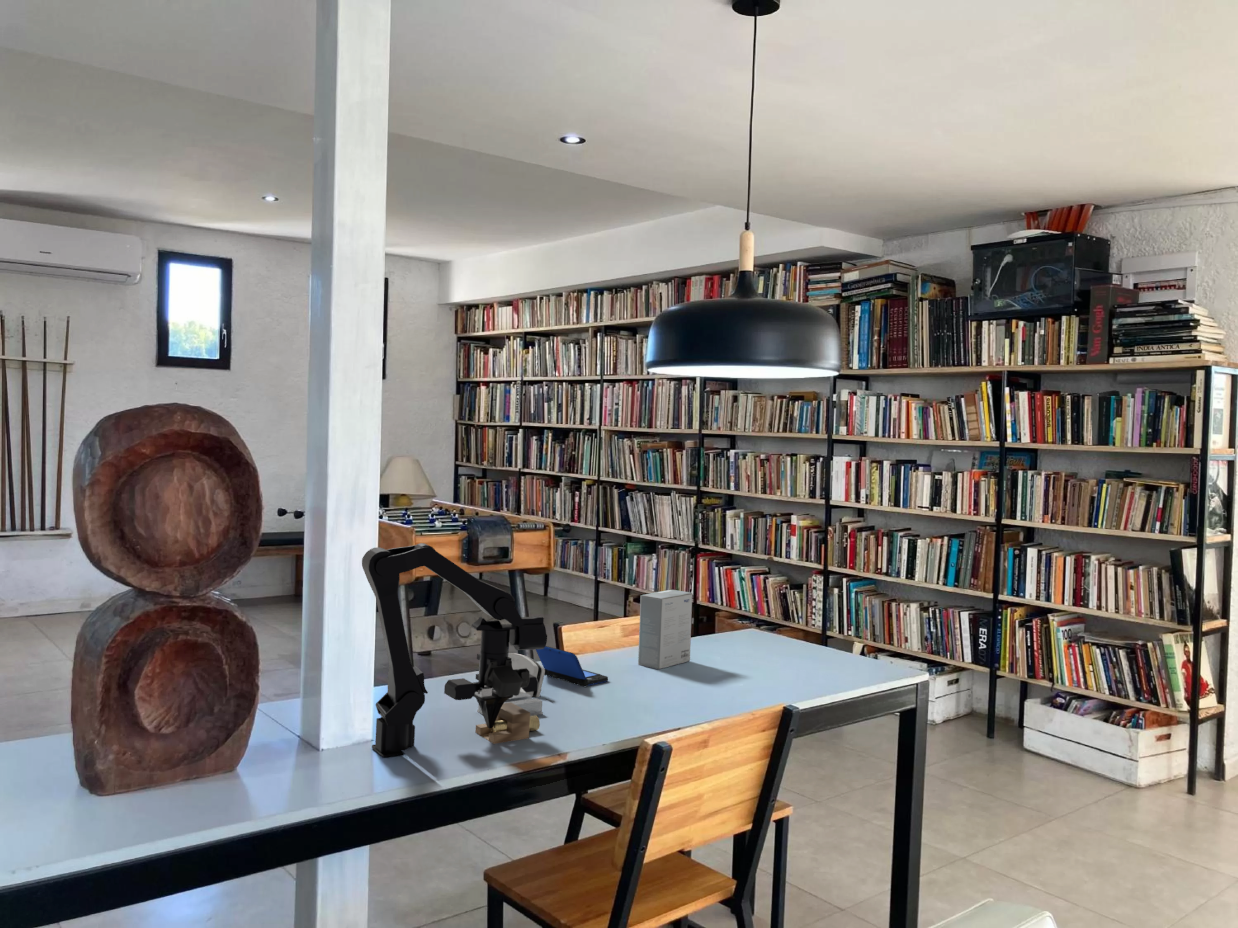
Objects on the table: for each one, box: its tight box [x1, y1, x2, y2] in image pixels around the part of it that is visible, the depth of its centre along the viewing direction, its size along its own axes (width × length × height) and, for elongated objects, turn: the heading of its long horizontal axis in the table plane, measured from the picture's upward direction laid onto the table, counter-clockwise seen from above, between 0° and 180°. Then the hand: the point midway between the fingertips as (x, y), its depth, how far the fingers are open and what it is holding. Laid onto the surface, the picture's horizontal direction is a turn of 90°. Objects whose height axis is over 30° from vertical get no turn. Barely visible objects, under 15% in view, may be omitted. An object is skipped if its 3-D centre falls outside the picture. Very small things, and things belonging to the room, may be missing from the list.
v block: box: [477, 693, 544, 716], centre depth 204 cm, size 12×8×4 cm, turn 125°
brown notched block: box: [475, 702, 530, 745], centre depth 189 cm, size 8×8×6 cm
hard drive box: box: [637, 589, 693, 670], centre depth 263 cm, size 16×8×20 cm, turn 141°
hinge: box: [484, 652, 545, 698], centre depth 226 cm, size 17×5×10 cm, turn 45°
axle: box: [490, 715, 541, 733], centre depth 190 cm, size 10×3×3 cm, turn 125°
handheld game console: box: [535, 645, 609, 687], centre depth 239 cm, size 16×13×9 cm
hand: (489, 727), depth 187 cm, fingers closed
